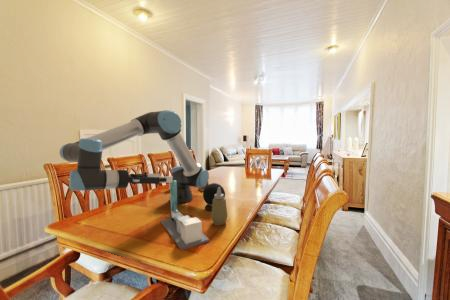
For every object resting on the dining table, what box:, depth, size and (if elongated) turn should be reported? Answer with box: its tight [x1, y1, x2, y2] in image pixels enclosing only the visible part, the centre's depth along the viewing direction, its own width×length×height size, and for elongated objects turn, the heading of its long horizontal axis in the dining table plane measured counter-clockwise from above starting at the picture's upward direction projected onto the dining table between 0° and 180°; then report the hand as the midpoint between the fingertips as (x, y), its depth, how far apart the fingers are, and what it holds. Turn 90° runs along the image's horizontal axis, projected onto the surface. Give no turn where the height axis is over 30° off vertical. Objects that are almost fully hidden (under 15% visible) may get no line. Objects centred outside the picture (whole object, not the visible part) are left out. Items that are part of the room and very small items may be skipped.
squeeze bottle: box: [211, 187, 228, 226], centre depth 102 cm, size 8×8×18 cm
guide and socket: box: [160, 214, 210, 251], centre depth 95 cm, size 30×12×8 cm, turn 31°
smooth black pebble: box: [202, 182, 226, 213], centre depth 123 cm, size 13×13×15 cm
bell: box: [197, 181, 210, 192], centre depth 166 cm, size 12×12×7 cm
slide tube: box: [169, 180, 183, 222], centre depth 99 cm, size 16×3×20 cm, turn 31°
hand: (166, 177), depth 99 cm, fingers open, 12 cm apart
